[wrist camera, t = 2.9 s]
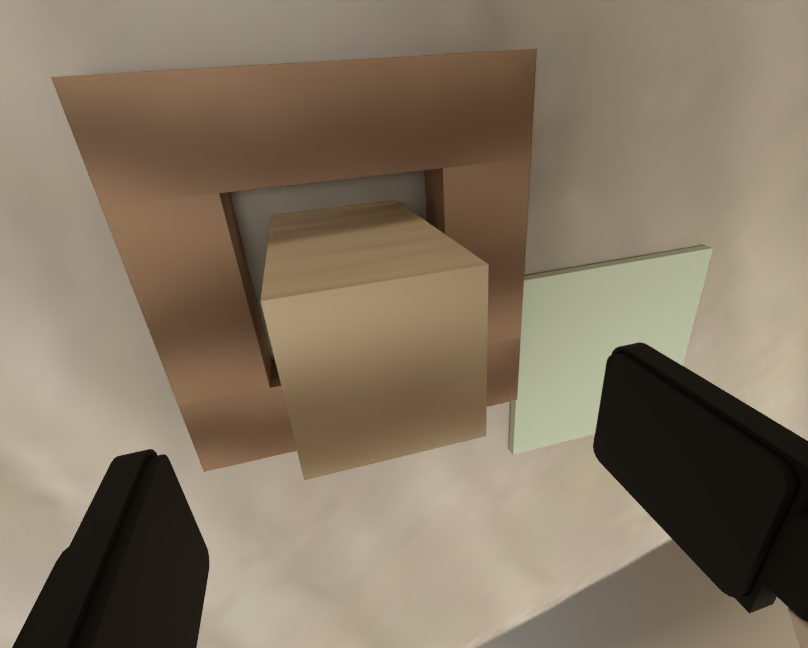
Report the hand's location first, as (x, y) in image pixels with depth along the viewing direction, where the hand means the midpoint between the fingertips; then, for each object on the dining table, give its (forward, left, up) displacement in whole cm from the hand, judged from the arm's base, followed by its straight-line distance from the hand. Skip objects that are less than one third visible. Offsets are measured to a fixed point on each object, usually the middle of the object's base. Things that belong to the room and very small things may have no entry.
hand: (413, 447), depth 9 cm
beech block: (0, 0, -13) cm, 13 cm away
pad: (+8, +15, -13) cm, 21 cm away
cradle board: (0, 0, -13) cm, 13 cm away
